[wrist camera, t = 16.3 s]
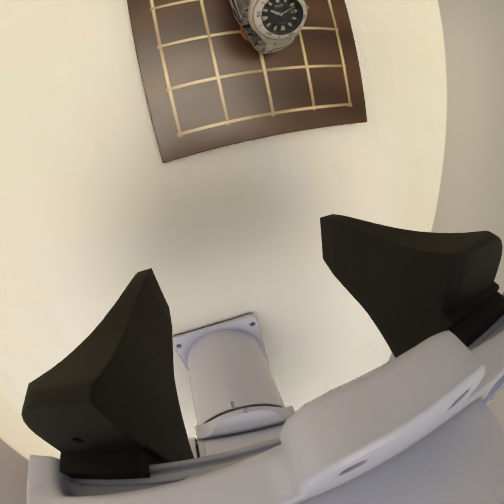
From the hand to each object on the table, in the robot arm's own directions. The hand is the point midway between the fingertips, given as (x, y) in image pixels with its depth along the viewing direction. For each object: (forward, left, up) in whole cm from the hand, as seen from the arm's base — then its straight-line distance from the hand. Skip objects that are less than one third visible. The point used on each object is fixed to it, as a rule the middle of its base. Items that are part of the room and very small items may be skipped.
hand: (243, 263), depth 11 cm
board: (+11, -5, -9) cm, 15 cm away
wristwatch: (+12, -5, -8) cm, 15 cm away
